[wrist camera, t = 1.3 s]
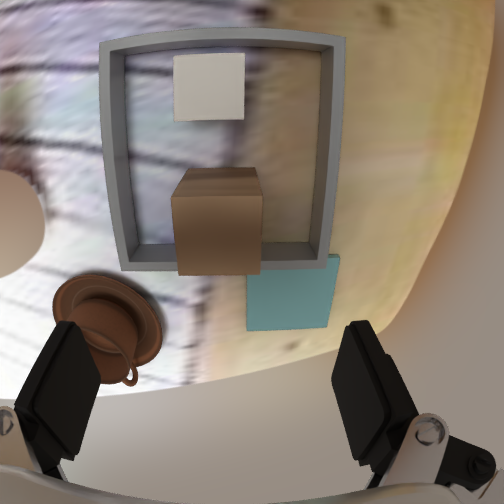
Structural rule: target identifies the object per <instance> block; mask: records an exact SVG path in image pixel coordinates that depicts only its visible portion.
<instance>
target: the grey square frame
mask: <svg viewBox="0 0 504 504" xmlns="http://www.w3.org/2000/svg"><path fill="white" fill-rule="evenodd" d="M221 46H251V47H276V48H290V49H302V50H311V51H320V52H321V87H320V110H319V129H318V145H317V160H316V173H315V185H314V197H313V208H312V218H311V228H310V238H309V242H297V243H261V270H298V269H326V266H327V259H328V253H329V246H330V239H331V231H332V224H333V216H334V207H335V199H336V190H337V181H338V171H339V160H340V148H341V136H342V122H343V105H344V84H345V46H346V37H343V36H337V35H330V34H323V33H316V32H308V31H298V30H287V29H273V28H246V27H225V28H199V29H185V30H174V31H164V32H156V33H149V34H142V35H136V36H130V37H124V38H119V39H114V40H109V41H104V42H100V43H99V101H100V122H101V136H102V149H103V159H104V168H105V177H106V185H107V193H108V200H109V206H110V213H111V219H112V225H113V231H114V236H115V242H116V247H117V252H118V257H119V262H120V266H121V271H178V266H177V257H176V248H175V244H143V245H139V242H138V236H137V229H136V222H135V215H134V208H133V200H132V191H131V182H130V172H129V161H128V149H127V134H126V115H125V56H126V55H132V54H138V53H145V52H153V51H161V50H171V49H182V48H197V47H221Z"/></svg>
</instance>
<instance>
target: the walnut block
mask: <svg viewBox="0 0 504 504" xmlns="http://www.w3.org/2000/svg"><path fill="white" fill-rule="evenodd" d="M171 207H172V218H173V229H174V239H175V248H176V257H177V266H178V274H179V276H202V275H260V270H261V241H262V210H263V194H262V191H261V187H260V184H259V181H258V177H257V174H256V170H255V168H191V169H188V170H187V171H186V173H185V175H184V176H183V178H182V180H181V181H180V183H179V184H178V186H177V188H176V189H175V191H174V193H173V194H172V196H171Z"/></svg>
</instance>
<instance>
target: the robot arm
mask: <svg viewBox="0 0 504 504" xmlns="http://www.w3.org/2000/svg"><path fill="white" fill-rule="evenodd" d="M331 381H332V386H333V389H334V393H335V396H336V399H337V403H338V406H339V409H340V413H341V417H342V420H343V424H344V427H345V431H346V434H347V438H348V441H349V445H350V449H351V452H352V456H353V458H354V460H358V461H359V465H360V466H364V465H368V464H370V467H371V470H372V472H373V474H372V475H371V477H370V479H369V481H368V483H367V484H366V486H365V488H364V490H360V491H356V492H351V493H347V494H341V495H335V496H329V497H323V498H315V499H308V500H301V501H292V502H283V503H272V504H504V470H503V469H501V468H500V469H499V470H497V469H496V463H495V459H494V457H493V455H492V454H491V453H490V452H488V451H487V450H485V449H482V448H480V447H477V446H475V445H472V444H469V443H467V442H465V441H462V440H460V439H457V438H455V437H453V436H450V435H449V429H448V426H447V424H446V422H445V421H444V420H443V419H442V418H441V417H439V416H437V415H435V414H431V413H423V414H421V415H419V413H418V411H417V409H416V407H415V404H414V402H413V400H412V398H411V396H410V394H409V392H408V390H407V387H406V386H405V383H404V382H403V379H402V377H401V375H400V373H399V371H398V369H397V367H396V365H395V363H394V361H393V359H392V358H391V356H390V355H388V354H385V352H384V350H383V348H382V346H381V344H380V342H379V340H378V338H377V336H376V334H375V332H374V330H373V328H372V326H371V324H370V323H369V321H368V320H361V321H352V322H351V323H350V325H349V326H346V327H345V330H344V334H343V338H342V341H341V345H340V348H339V352H338V356H337V359H336V363H335V366H334V370H333V373H332V377H331ZM100 383H101V375H100V373H99V370H98V368H97V366H96V364H95V362H94V359H93V357H92V355H91V353H90V350H89V348H88V346H87V343H86V341H85V338H84V336H83V333H82V331H81V328H80V327H79V326H77V325H76V323H75V322H73V321H63V320H61V321H59V322H58V323H57V325H56V327H55V328H54V330H53V332H52V333H51V335H50V337H49V339H48V340H47V342H46V344H45V345H44V347H43V349H42V351H41V353H40V354H39V356H38V358H37V360H36V362H35V364H34V365H33V367H32V369H31V371H30V373H29V375H28V377H27V379H26V381H25V383H24V385H23V387H22V389H21V391H20V393H19V395H18V397H17V399H16V401H15V403H14V405H15V408H14V410H13V409H12V408H10V407H8V406H1V407H0V504H188V503H176V502H166V501H158V500H150V499H143V498H137V497H131V496H125V495H120V494H115V493H110V492H105V491H101V490H97V489H92V488H88V487H85V486H81V485H77V484H73V483H70V482H68V480H67V478H66V476H65V474H64V472H63V470H62V468H61V465H60V460H61V458H64V459H67V460H71V461H74V457H75V455H77V454H78V453H79V451H80V447H81V444H82V440H83V437H84V434H85V430H86V427H87V424H88V420H89V417H90V414H91V410H92V408H93V404H94V401H95V398H96V395H97V392H98V389H99V387H100ZM269 504H271V503H269Z"/></svg>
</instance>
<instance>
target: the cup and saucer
mask: <svg viewBox="0 0 504 504" xmlns="http://www.w3.org/2000/svg"><path fill="white" fill-rule="evenodd" d="M52 308H53V316H54V319H55V322H56V325H57V323H58V322H59V321H61V320H63V321H73V322H75V323H76V325H77V326H79V327H80V328H81V331H82V333H83V336H84V338H85V341H86V343H87V346H88V348H89V350H90V353H91V355H92V357H93V359H94V362H95V364H96V366H97V368H98V370H99V373H100V375H101V383H100V384H116V383H119V382H123V383H124V384H125V385H127V386H130V387H131V386H134V385H136V383H137V381H138V372H137V369H136V367H139V366H142V365H145V364H147V363H148V362H150V361H151V360H153V359H154V358H155V357H156V356H157V354H158V353H159V351H160V349H161V345H162V329H161V325H160V322H159V319H158V317H157V315H156V313H155V312H154V310H153V309H152V307H151V306H150V305H149V304H148V303H147V301H146V300H145V299H144V298H143V297H141V296H140V295H139V294H138V293H137V292H135V291H134V290H133V289H131V288H130V287H128V286H126V285H124V284H122V283H121V282H118V281H116V280H114V279H111V278H108V277H104V276H98V275H82V276H77V277H74V278H72V279H70V280H68V281H66V282H65V283H64V284H62V285H61V286H60V287H59V289H58V290H57V291H56V293H55V296H54V299H53V306H52ZM130 368H131V370H132V373H133V378H132V380H128V379H127V376H128V374H129V371H130Z"/></svg>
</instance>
